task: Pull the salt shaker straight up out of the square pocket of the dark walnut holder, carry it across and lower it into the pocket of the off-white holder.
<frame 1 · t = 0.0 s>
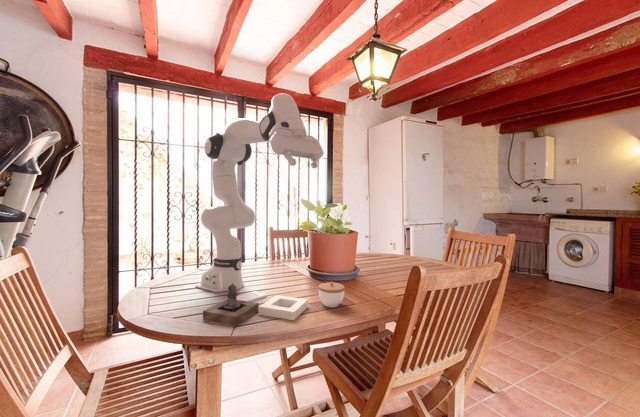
hand: (304, 166, 97), 54 cm above the table, tool tilted 30°, fingers open, 8 cm apart
external hard drive: (249, 299, 125), on the table
lidded jar: (331, 305, 119), on the table
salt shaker: (231, 315, 106), resting in walnut holder
walnut holder: (231, 314, 106), on the table
off-white holder: (284, 310, 112), on the table
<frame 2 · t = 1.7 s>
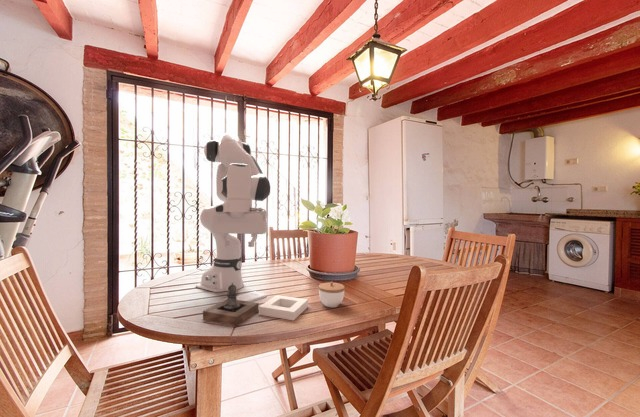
hand: (239, 246, 104), 26 cm above the table, tool pointing down, fingers open, 8 cm apart
nothing on the table moved.
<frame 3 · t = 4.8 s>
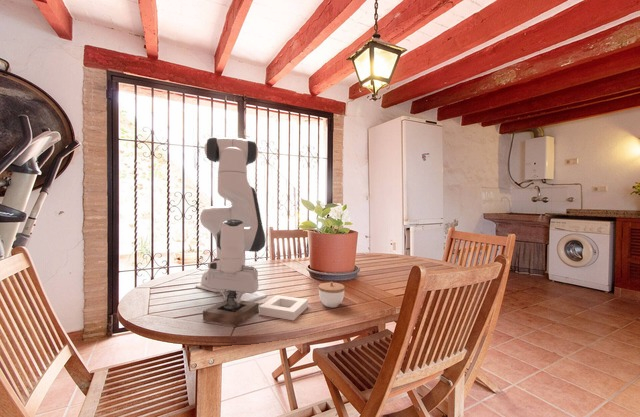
hand: (232, 301, 106), 5 cm above the table, tool pointing down, fingers closed on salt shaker, 3 cm apart
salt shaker: (231, 315, 106), resting in walnut holder, touching gripper
everything else where it was.
when the fingers open (6 cm above the table, at t = 10.6 s): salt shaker stays where it is, resting in off-white holder.
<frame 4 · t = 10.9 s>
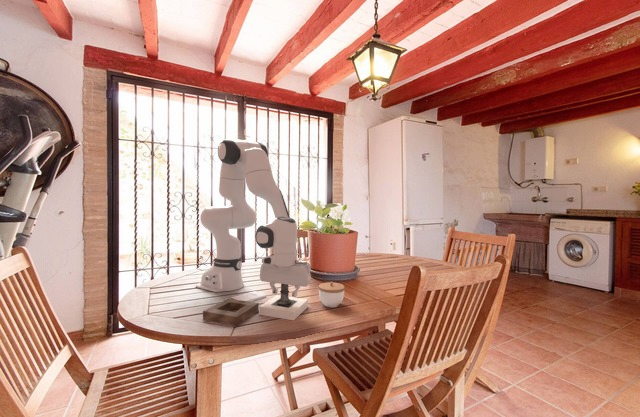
hand: (284, 294, 111), 6 cm above the table, tool pointing down, fingers open, 7 cm apart
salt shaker: (284, 310, 112), resting in off-white holder
everything else where it was.
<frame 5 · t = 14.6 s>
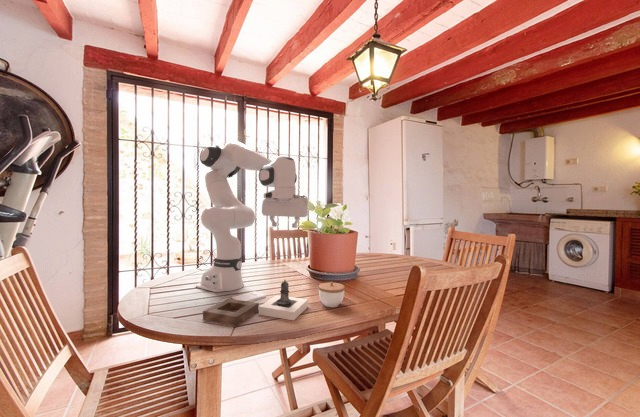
hand: (284, 227, 123), 31 cm above the table, tool pointing down, fingers open, 8 cm apart
nothing on the table moved.
at the end: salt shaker 0.4 cm off-centre on the off-white holder, point 0.0 cm above the off-white holder's base; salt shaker tilted 0°; the gripper is holding nothing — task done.
